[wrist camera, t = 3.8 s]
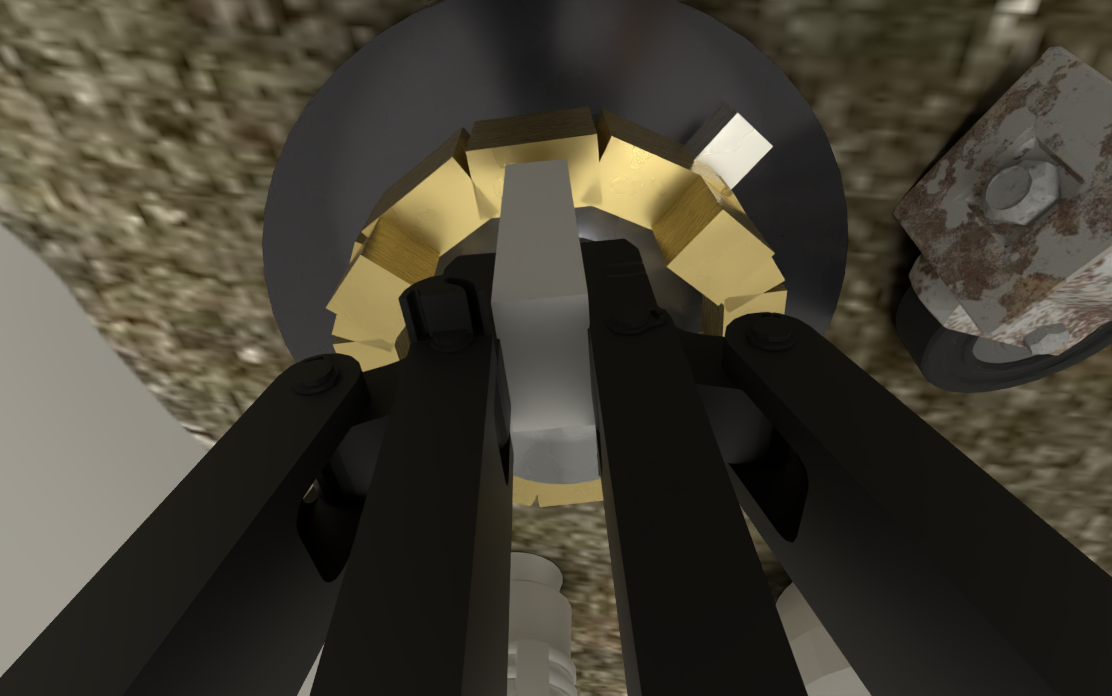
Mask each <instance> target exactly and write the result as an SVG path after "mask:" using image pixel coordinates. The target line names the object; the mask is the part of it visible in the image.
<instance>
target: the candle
mask: <svg viewBox="0 0 1112 696" xmlns="http://www.w3.org/2000/svg"><path fill="white" fill-rule="evenodd" d="M562 584H563V576H562V574H561V572H560V570H559V568H558V567H557V566H556V565H555V564H554V563H552V562H551V561H549V560H547V559H545V558H543V557H541V556H537V555H534V554H530V553H521V552H511V570H510V605H509V640H508V675H507V696H577V689H576V688H575V684H576V667H575V665H574V664H573V662H572V660H571V659H570V653H571V606H570V604H569V602H568V600H567V599H566V598H565V597H564V596H563V595H562V594H561V593H560V592H559V591H560V589H561V586H562Z"/></svg>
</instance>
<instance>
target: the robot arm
mask: <svg viewBox="0 0 1112 696" xmlns="http://www.w3.org/2000/svg"><path fill="white" fill-rule="evenodd" d="M398 300H399V303H400V307H401V310H402V314H403V318H404V321H405V325H406V328H407V332H408V336H409V339H410V347H409V350H408V354H407V357H405V358H403V359H401V360H399V361H396V362H394V363H391V364H388V365H385V366H382V367H378V368H375V369H371V370H368V371H364V372H362V369H361V366H360V363H359V361H357V360H356V359H355V358H353V357H352V356H350V355H345V354H340V353H332V354H320V355H315V356H314V357H313V356H312V357H309V358H306V359H304V360H302V361H300V362H298V363H296V364H294V365H292V366H290V367H289V368H288V369H286V370H285V371H284V372H283V373H282V374H280V375H279V376H278V377H277V378H276V379H275V380H274V381H273V382H272V383H271V385H270V386H269V387H268V388H267V389H266V390H265V391H264V392H263V393H262V394H261V395H260V396H259V398H258V399H257V400H256V401H255V402H254V403H253V404H252V405H251V406H250V407H249V408H248V409H247V411H246V412H245V413H244V414H243V415H242V416H241V417H240V418H239V419H238V420H237V421H236V423H235V424H234V425H233V426H232V427H231V428H230V429H229V430H228V431H227V432H226V433H225V434H224V436H223V437H222V438H221V439H220V440H219V441H218V442H217V443H216V444H215V445H214V446H213V447H212V449H211V450H210V451H209V452H208V453H207V454H206V455H205V456H204V457H203V458H202V459H201V460H200V462H199V463H198V464H197V465H196V466H195V467H194V468H193V469H192V470H191V471H190V472H189V474H188V475H187V476H186V477H185V478H184V479H183V480H182V481H181V482H180V483H179V484H178V486H177V487H176V488H175V489H174V490H173V491H172V492H171V493H170V494H169V495H168V496H167V497H166V498H165V500H164V501H163V502H162V503H161V504H160V505H159V506H158V507H157V508H156V509H155V510H154V512H153V513H152V514H151V515H150V516H149V517H148V518H147V519H146V520H145V521H144V522H143V523H142V524H141V526H140V527H139V528H138V529H137V530H136V531H135V532H134V533H133V534H132V535H131V536H130V538H129V539H128V540H127V541H126V542H125V543H124V544H123V545H122V546H121V547H120V548H119V549H118V551H117V552H116V553H115V554H114V555H113V556H112V557H111V558H110V559H109V560H108V561H107V562H106V564H105V565H104V566H103V567H102V568H101V569H100V570H99V571H98V572H97V573H96V574H95V576H94V577H93V578H92V579H91V580H90V581H89V582H88V583H87V584H86V585H85V586H84V587H83V588H82V590H81V591H80V592H79V593H78V594H77V595H76V596H75V597H74V598H73V599H72V600H71V601H70V603H69V604H68V605H67V606H66V607H65V608H64V609H63V610H62V611H61V612H60V613H59V615H58V616H57V617H56V618H55V619H54V620H53V621H52V622H51V623H50V624H49V626H47V628H46V629H45V630H44V631H43V632H42V633H41V634H40V635H39V636H38V637H37V638H36V640H35V641H34V642H33V643H32V644H31V645H30V646H29V647H28V648H27V649H26V650H25V651H24V652H23V654H22V655H21V656H20V657H19V658H18V659H17V660H16V661H15V662H14V663H13V664H12V666H11V667H10V668H9V669H8V670H7V671H6V672H5V673H4V674H3V675H2V677H1V678H0V696H297V694H298V692H299V690H300V689H301V687H302V685H303V683H304V681H305V679H306V677H307V675H308V673H309V671H310V669H311V668H312V666H313V664H314V662H315V660H316V658H317V656H318V654H319V652H320V650H321V648H322V646H323V645H324V647H323V651H322V654H321V658H320V661H319V665H318V668H317V672H316V675H315V679H314V682H313V686H312V689H311V692H310V696H507V675H508V640H509V605H510V570H511V535H512V499H513V464H514V451H513V446H512V440H511V435H510V422H512V427H513V432H519V431H531V430H542V429H554V428H565V427H577V426H588V425H595V427H596V443H597V459H598V475H599V476H600V477H601V485H602V493H603V501H604V509H605V517H606V525H607V533H608V541H609V549H610V557H611V565H612V573H613V581H614V589H615V598H616V606H617V614H618V622H619V630H620V638H621V646H622V654H623V662H624V670H625V678H626V686H627V694H628V696H808V694H807V691H806V688H805V685H804V683H803V680H802V677H801V674H800V672H799V669H798V666H797V663H796V660H795V658H794V655H793V652H792V649H791V647H790V644H789V641H788V638H787V635H786V633H785V630H784V627H783V624H782V622H781V619H780V616H779V613H778V610H777V608H776V605H775V602H774V599H773V597H772V594H771V591H770V588H769V585H768V583H767V580H766V577H765V574H764V572H763V569H762V566H761V563H760V560H759V558H758V555H757V552H756V549H755V547H754V544H753V541H752V538H751V535H750V533H749V530H748V527H747V524H746V522H745V519H744V516H743V513H742V510H741V508H740V505H741V507H742V508H743V510H744V511H745V513H746V514H747V516H748V517H749V519H750V520H751V521H752V523H753V524H754V526H755V527H756V529H757V530H758V532H759V533H760V535H761V536H762V537H763V539H764V540H765V542H766V543H767V545H768V546H769V548H770V549H771V551H772V552H773V553H774V555H775V556H776V558H777V559H778V561H779V562H780V564H781V565H782V567H783V568H784V569H785V571H786V572H787V574H788V575H789V577H790V578H791V580H792V581H793V583H794V584H795V585H796V587H797V588H798V590H799V591H800V593H801V594H802V596H803V597H804V599H805V600H806V601H807V603H808V604H809V606H810V607H811V609H812V610H813V612H814V613H815V615H816V616H817V617H818V619H819V620H820V622H821V623H822V625H823V626H824V628H825V629H826V631H827V632H828V633H829V635H830V636H831V638H832V639H833V641H834V642H835V644H836V645H837V647H838V648H839V649H840V651H841V652H842V654H843V655H844V657H845V658H846V660H847V661H848V663H849V664H850V665H851V667H852V668H853V670H854V671H855V673H856V674H857V676H858V677H859V679H860V680H861V681H862V683H863V684H864V686H865V687H866V689H867V690H868V692H869V693H870V695H871V696H1112V577H1111V576H1110V575H1109V574H1107V573H1106V572H1105V571H1104V570H1103V569H1101V568H1100V567H1099V566H1098V565H1097V564H1095V563H1094V562H1093V561H1092V560H1091V559H1089V558H1088V557H1087V556H1086V555H1085V554H1083V553H1082V552H1081V551H1080V550H1079V549H1077V548H1076V547H1075V546H1074V545H1073V544H1071V543H1070V542H1069V541H1068V540H1067V539H1065V538H1064V537H1063V536H1062V535H1061V534H1059V533H1058V532H1057V531H1056V530H1055V529H1053V528H1052V527H1051V526H1050V525H1049V524H1047V523H1046V522H1045V521H1044V520H1043V519H1041V518H1040V517H1039V516H1038V515H1037V514H1035V513H1034V512H1033V511H1032V510H1031V509H1029V508H1028V507H1027V506H1026V505H1025V504H1023V503H1022V502H1021V501H1020V500H1019V499H1017V498H1016V497H1015V496H1014V495H1013V494H1011V493H1010V492H1009V491H1008V490H1007V489H1005V488H1004V487H1003V486H1002V485H1001V484H999V483H998V482H997V481H996V480H995V479H993V478H992V477H991V476H990V475H989V474H987V473H986V472H985V471H984V470H983V469H981V468H980V467H979V466H978V465H977V464H975V463H974V462H973V461H972V460H971V459H969V458H968V457H967V456H966V455H965V454H963V453H962V452H961V451H960V450H959V449H957V448H956V447H955V446H954V445H953V444H951V443H950V442H949V441H948V440H947V439H945V438H944V437H943V436H942V435H941V434H939V433H938V432H937V431H936V430H935V429H933V428H932V427H931V426H930V425H929V424H927V423H926V422H925V421H924V420H923V419H921V418H920V417H919V416H918V415H917V414H915V413H914V412H913V411H912V410H911V409H909V408H908V407H907V406H906V405H905V404H903V403H902V402H901V401H900V400H899V399H897V398H896V397H895V396H894V395H893V394H891V393H890V392H889V391H888V390H887V389H885V388H884V387H883V386H882V385H881V384H879V383H878V382H877V381H876V380H875V379H873V378H872V377H871V376H870V375H869V374H867V373H866V372H865V371H864V370H863V369H861V368H860V367H859V366H858V365H857V364H855V363H854V362H853V361H852V360H851V359H849V358H848V357H847V356H846V355H845V354H843V353H842V352H841V351H840V350H839V349H837V348H836V347H835V346H834V345H833V344H831V343H830V342H829V341H828V340H827V339H825V338H824V337H823V336H822V335H821V334H819V333H818V332H817V331H816V330H815V329H813V328H812V327H811V326H809V325H808V324H806V323H804V322H803V321H801V320H799V319H798V318H794V317H791V316H788V315H784V314H781V313H775V312H773V313H770V312H758V313H749V314H745V315H743V316H740V317H738V318H735V319H734V320H732V321H731V322H730V323H729V324H728V325H727V326H726V331H725V337H723V336H714V335H704V334H698V333H692V332H688V331H685V330H682V329H679V328H677V327H676V326H675V324H674V322H673V319H672V317H671V316H670V315H669V314H668V312H667V311H666V310H664V309H662V308H661V307H659V306H658V305H657V302H656V299H655V296H654V293H653V290H652V287H651V284H650V281H649V278H648V275H647V274H646V269H645V267H644V264H643V261H642V258H641V255H640V252H639V249H638V248H637V247H636V246H634V245H633V244H632V243H630V242H629V241H627V240H626V239H614V240H603V241H592V242H582V243H580V241H579V234H578V228H577V222H576V215H575V209H574V203H573V196H572V190H571V184H570V177H569V171H568V165H567V159H560V160H549V161H539V162H529V163H518V164H508V165H506V166H505V175H504V185H503V194H502V203H501V213H500V222H499V231H498V241H497V250H496V252H494V253H484V254H473V255H462V256H457V257H456V258H455V259H454V260H453V261H452V262H451V263H450V264H449V265H448V266H447V267H445V269H444V273H443V275H437V276H432V277H429V278H426V279H423V280H421V281H418V282H416V283H414V284H413V285H411V286H410V287H408V288H407V289H405V290H404V291H403V293H402V294H401V295H400V297H399V298H398ZM312 484H313V485H314V486H313V487H312V489H311V490H310V492H309V493H308V495H307V496H306V497H305V498H304V499H303V497H304V495H305V494H306V492H307V491H308V490H309V488H310V487H311V485H312ZM739 504H740V505H739ZM324 643H325V644H324Z"/></svg>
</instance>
